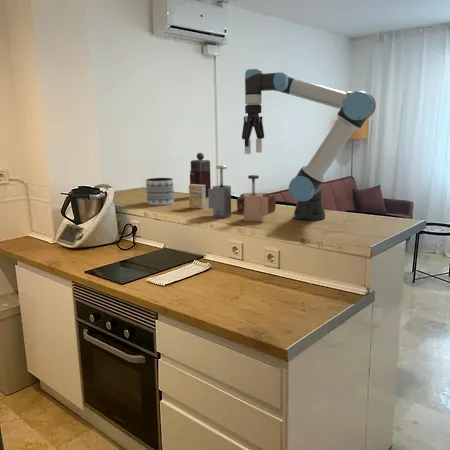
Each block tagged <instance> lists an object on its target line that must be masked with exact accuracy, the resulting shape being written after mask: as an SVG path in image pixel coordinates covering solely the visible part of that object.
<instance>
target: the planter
mask: <svg viewBox="0 0 450 450" xmlns="http://www.w3.org/2000/svg"><path fill="white" fill-rule="evenodd" d="M145 185H146V186H145V187H146V203H147V205H149V206H168V205H172V204H174V203H175V197H174V195H175V193H174V191H175V189H174V178H171V177H155V178H153V177H151V178H146V179H145Z"/></svg>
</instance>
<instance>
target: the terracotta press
mask: <svg viewBox="0 0 450 450" xmlns="http://www.w3.org/2000/svg"><path fill="white" fill-rule="evenodd" d="M244 194H245V193H244ZM264 215H265V216H268V215H269V213H268V198H264V197H263V194H255V196H252V194H245V195H244V212H243V219H244V221H247V222H261V221H263V220H264Z"/></svg>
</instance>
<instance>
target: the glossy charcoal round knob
mask: <svg viewBox="0 0 450 450" xmlns="http://www.w3.org/2000/svg"><path fill="white" fill-rule="evenodd" d="M259 176H260V175H259V174H258V175H256V174H250V175H248V176H247V179H249V180H250V179H251V193H252V196H255V193H256V179H259V178H260V177H259Z"/></svg>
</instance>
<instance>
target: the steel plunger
mask: <svg viewBox="0 0 450 450" xmlns="http://www.w3.org/2000/svg"><path fill="white" fill-rule="evenodd" d="M215 168H216V170H219V179H220V180H219V185H220V187H223V185H224V170H226V169H227V165H216V166H215Z"/></svg>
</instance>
